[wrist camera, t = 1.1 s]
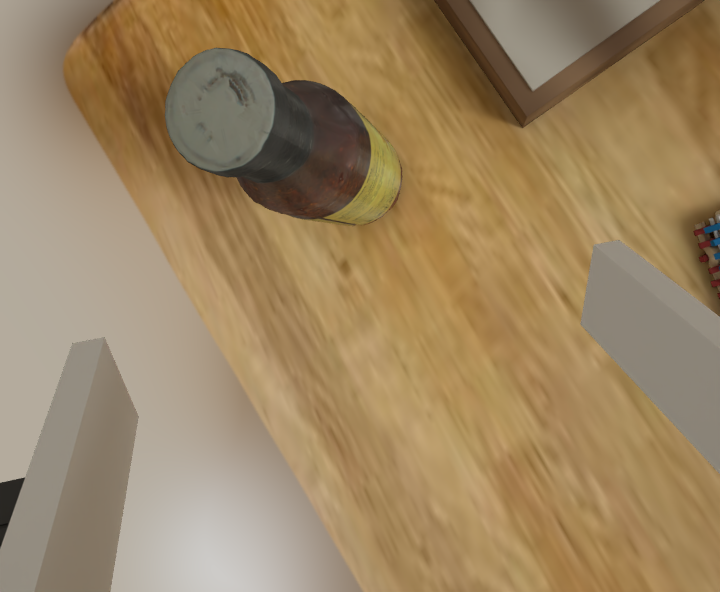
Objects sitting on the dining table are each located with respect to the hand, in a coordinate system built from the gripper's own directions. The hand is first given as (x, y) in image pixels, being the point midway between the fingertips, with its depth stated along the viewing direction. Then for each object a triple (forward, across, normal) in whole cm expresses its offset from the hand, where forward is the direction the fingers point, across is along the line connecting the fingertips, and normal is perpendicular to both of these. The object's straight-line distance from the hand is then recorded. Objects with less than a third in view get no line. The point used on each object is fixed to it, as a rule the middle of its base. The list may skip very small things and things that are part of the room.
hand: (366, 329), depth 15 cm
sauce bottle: (+23, +4, -5) cm, 24 cm away
